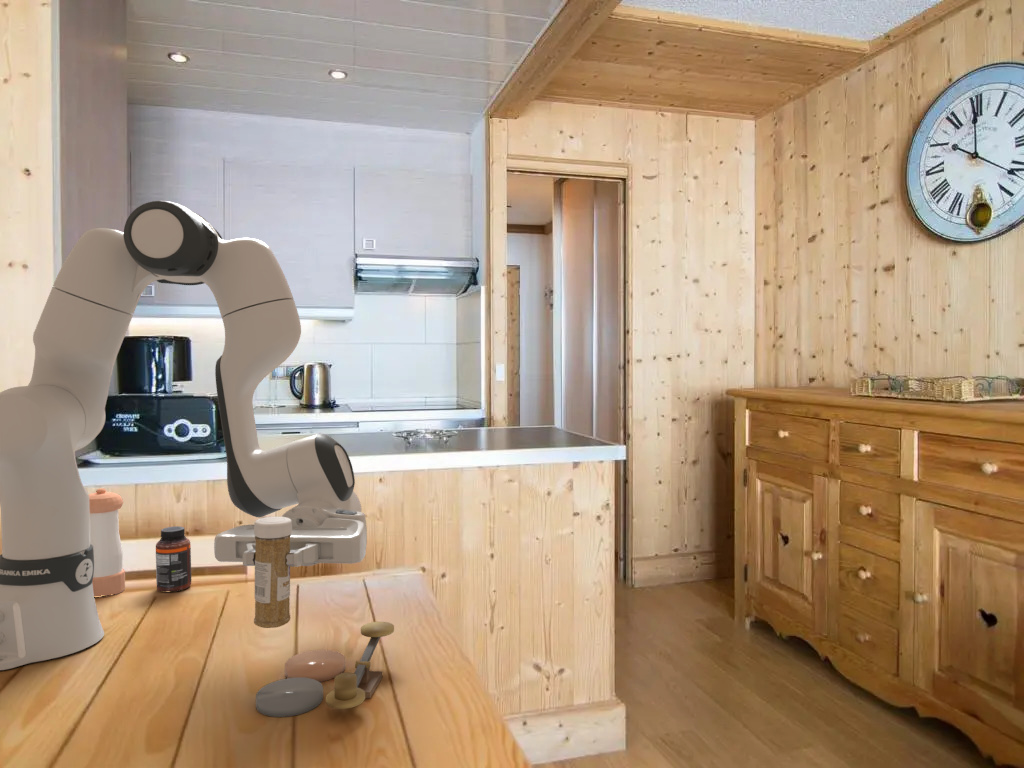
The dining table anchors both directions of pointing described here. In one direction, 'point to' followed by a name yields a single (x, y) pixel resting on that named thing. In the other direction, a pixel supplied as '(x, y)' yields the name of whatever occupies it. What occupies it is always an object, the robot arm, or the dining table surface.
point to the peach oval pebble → (315, 665)
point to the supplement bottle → (173, 560)
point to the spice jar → (272, 571)
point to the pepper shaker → (106, 543)
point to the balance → (359, 672)
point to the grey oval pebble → (289, 697)
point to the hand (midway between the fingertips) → (269, 560)
